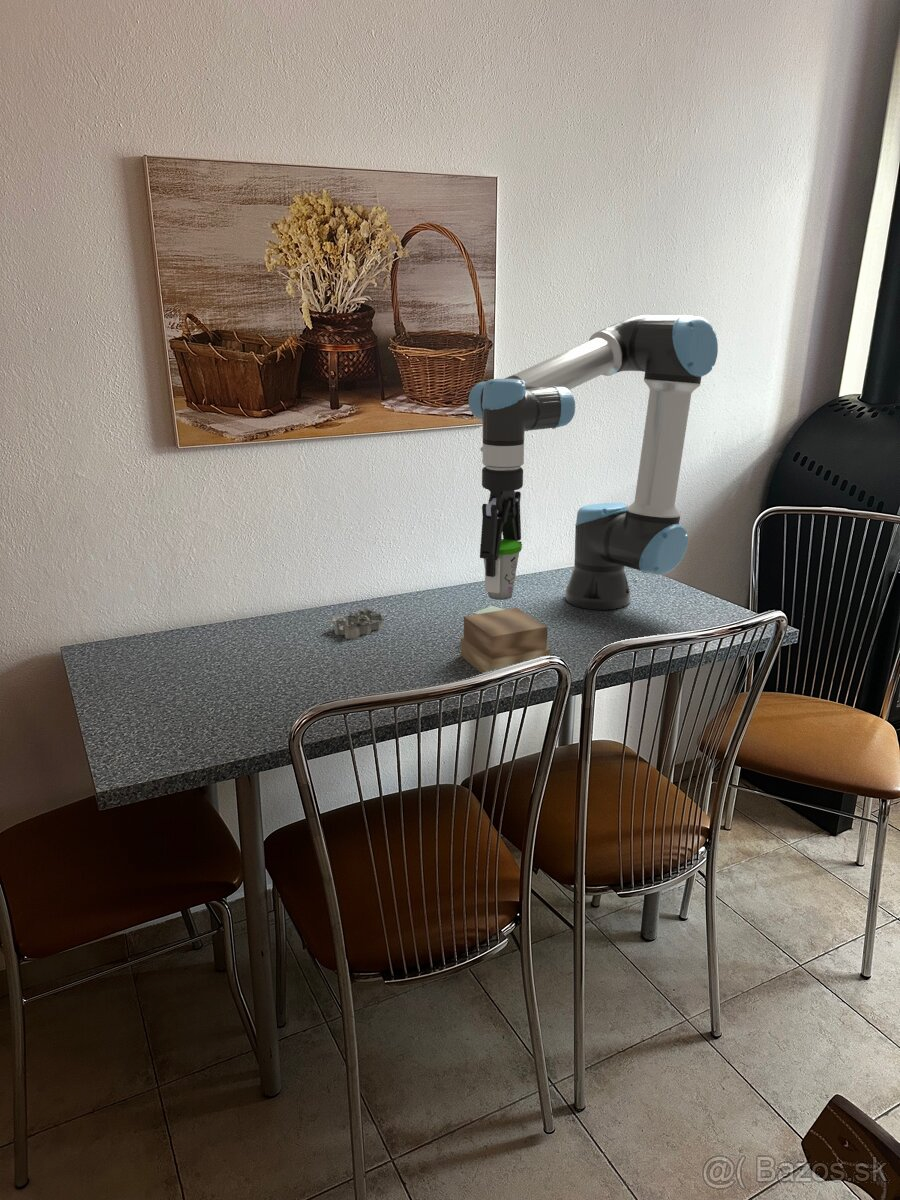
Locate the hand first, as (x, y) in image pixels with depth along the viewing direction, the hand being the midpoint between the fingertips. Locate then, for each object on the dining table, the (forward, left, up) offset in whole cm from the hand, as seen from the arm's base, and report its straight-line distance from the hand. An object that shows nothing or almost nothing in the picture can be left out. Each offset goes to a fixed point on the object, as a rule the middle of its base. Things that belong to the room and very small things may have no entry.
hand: (500, 585), depth 164 cm
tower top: (-1, 0, -12) cm, 12 cm away
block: (-5, -12, -16) cm, 21 cm away
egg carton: (+19, -29, -17) cm, 39 cm away
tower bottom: (-1, 0, -17) cm, 17 cm away
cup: (0, 0, -2) cm, 2 cm away
